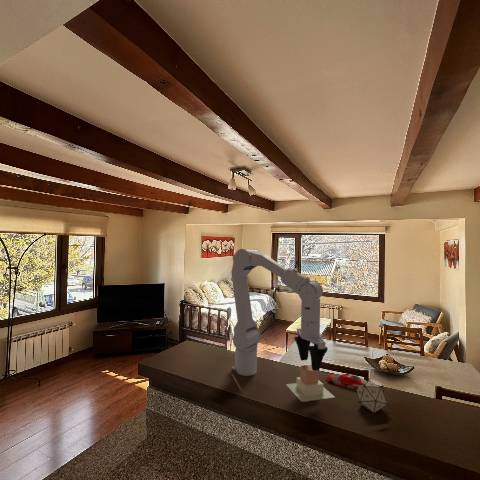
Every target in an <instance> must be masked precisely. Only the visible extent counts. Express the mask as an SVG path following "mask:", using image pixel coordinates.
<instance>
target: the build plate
mask: <svg viewBox="0 0 480 480" xmlns="http://www.w3.org/2000/svg"><path fill="white" fill-rule="evenodd" d="M285 386H287V388H288V389H289V390H290V391H291V392H292V393H293V394H294V395H295V396H296V398H297V399H298V400H299V401H300V402H302V403H303V402H304V403H305V402H310V401H318V400H325V399H332V398H336V396H334V395H333V394H332V393H331V392H330V391H329V390H328V389H327V388H325V386H323V394H320V395H312V396H305V395H304V394H303V393H302V392H301V391H300V390H299V389H298V388H297V387H296V382H295V383H294V382H293V383H288V384H285Z"/></svg>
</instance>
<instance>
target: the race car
mask: <svg viewBox="0 0 480 480" xmlns="http://www.w3.org/2000/svg"><path fill="white" fill-rule="evenodd" d="M325 381H326V382H327V383H329V384H332V385H336V386H340V387H344V388H348V389H351V390H354V387H355V388H358V387H360V386H361V385H363V384H364V383H366V382H367V381H368V380H366V379H364V378H362V377H360V376H357V375H355V374H352V373H342V374H337V373H335V374H334V373H333V374H332V373H331V374H329V375H327V376H326V378H325Z"/></svg>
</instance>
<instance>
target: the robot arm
mask: <svg viewBox="0 0 480 480" xmlns="http://www.w3.org/2000/svg"><path fill="white" fill-rule="evenodd" d="M232 262H233V264H232V267H231V272H230V273H231V281H232V288H233V295H234V303H235V304H234V305H235V311H236V321H237V322H236V324H234V325H235V326H234V327H233V335H232V336H233V337H232V343H233V346H234V347H235V350H234V366H231V369H232V371H236V373H237V374H238V375H240V376H245V377H248V376H254V375H256V374H257V371H258V370H257V368H258V367H257V365H258V345H259V343H260V342H261V339H262V335H261V331H260V330H259V327H258V323H257V322H256V321H255V320H254V319H253V310H252V305H251V304H252V303H251V297H250V288H249V282H248V281H249V280H248V275H249V274H250V272H252V270H253V269H255V268H257V267H262V268H264V269H266V270H267V271H269V272H271V273H272V274H274V275H276V276H277V277H279V278H280V281H281V283H282V284H283V285H284V286H286V287H287V288H289V289H290V290H292V291H293V292H295V293H296V294H298V296H299V298H300V300H301V306H300V308H301V310H300V312H301V313H300V328H296V335H297V336H294V337H293V339H294V341H295V344H296V345H297V350H298V354H299V358H300V361H308V358H309V354H310V361H311V362H310V363H311V364H310V365H312V370H318V371H320V369H321V366H322V362H323V359H324V357H325V355H326V353H327V352H328V350H329V349H328V347H327V346H326V345H327V344H326V341H325V340H324V338H323V337H324V334H322V333H321V332H320V330H321V297H322V295H323V293H324V288H323V286H322V285H321V284H320V283H319V282H318V281H317V280H311V277H309V276H307V277H306V276H305V275H303V274H301V273H300V272H299V270H298V268H293V267H289V268H285V267H284V266H282V265H281V264H280V263H278V262H277V261H276V260H274V259H273V258H272V257H270V256H269V255H267V254H266V253H265V252H264V251H261V250H259V249H258V248H250V249H249V248H248V249H247V248H240V249H238V250H236V252H235V253H234V254H233V255H232ZM311 343H312V344H313V345H311Z"/></svg>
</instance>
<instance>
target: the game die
mask: <svg viewBox="0 0 480 480" xmlns="http://www.w3.org/2000/svg"><path fill="white" fill-rule="evenodd" d="M366 381H367V382H366V383H364V384H363V385H361V386H360V387H358V388H355V387H354V388H353V390H354V391H356V393H357V397H358V401H357V404H361V406H363V408H365V409H367V410H369V411H370V412H371V413H372V414H376V413H377V412H378V411H380V410H381V409H383V408H385V406H388V407H391V404H390V403H388V402H387V399H386V396H385V394H384V392H385V389H383V388H384V385H383V384H382V385H379V384H376V383H375V382H373V381H371V379H370V377H369V376H367V380H366Z"/></svg>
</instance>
